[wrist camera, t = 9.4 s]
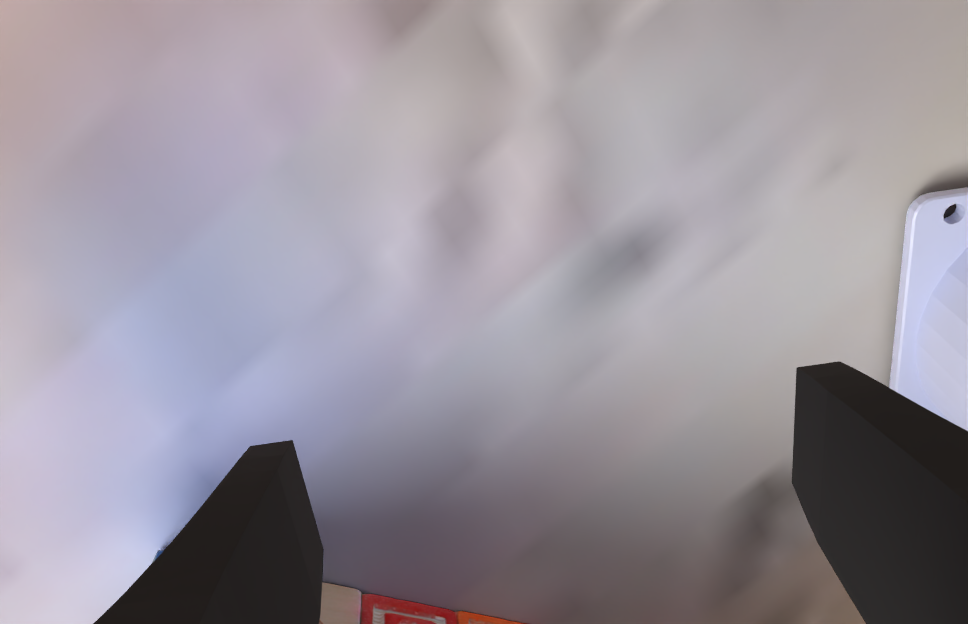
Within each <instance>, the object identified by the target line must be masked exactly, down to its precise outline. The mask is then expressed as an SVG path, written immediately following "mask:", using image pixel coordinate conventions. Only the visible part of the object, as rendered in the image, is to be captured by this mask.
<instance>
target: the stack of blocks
mask: <svg viewBox="0 0 968 624" xmlns="http://www.w3.org/2000/svg"><path fill="white" fill-rule="evenodd" d="M162 552H163V551H160V550H159V551H158V552H157V553H156V555H155V558H154V560H153V562H154V561H155V560H156V559H157V558H158V556H159V555H160V554H161V553H162ZM319 624H526V623H519V622H513V621H508V620H505V619H500V618H495V617H490V616H484V615H480V614H475V613H469V612H464V611H457V612H454V611H451V610H449V609H444V608H439V607H433V606H429V605H425V604H420V603H415V602H410V601H405V600H398V599H394V598H390V597H384V596H379V595H375V594H362V593H361V592H360V591H359V590H357V589H354V588H349V587H344V586H339V585H334V584H329V583H324V582H322V596H321V614H320V620H319Z"/></svg>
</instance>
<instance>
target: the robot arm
mask: <svg viewBox="0 0 968 624" xmlns="http://www.w3.org/2000/svg"><path fill="white" fill-rule="evenodd" d="M953 204H956V209H955V212H954V213H953V214H952V215H951V216H949V217H946V218H944V217H943V215H944V212H945V210H946V209H947V208H948V207H949V206H951V205H953ZM792 484H793V486H794V489H795V491H796V493H797V496H798V498H799V501H800V503H801V506H802V508H803V510H804V513H805V515H806V517H807V520H808V522H809V524H810V526H811V529H812V531H813V533H814V535H815V538H816V540H817V542H818V544H819V546H820V547H821V549H822V551H823V553H824V554H825V556H826V558H827V559H828V561H829V563H830V564H831V566H832V568H833V570H834V571H835V573H836V575H837V576H838V578H839V580H840V581H841V583H842V585H843V586H844V588H845V590H846V591H847V593H848V595H849V596H850V598H851V599H852V601H853V603H854V604H855V606H856V608H857V609H858V611H859V613H860V614H861V616H862V618H863V619H864V621H865V622H866V624H968V187H965V188H958V189H951V190H944V191H938V192H931V193H927V194H923V195H921V196H919V197H918V198H917V199H915V200H914V201H913V202H912V204H911V205H910V206H909V208H908V212H907V215H906V225H905V235H904V245H903V255H902V265H901V275H900V285H899V295H898V305H897V315H896V325H895V335H894V345H893V355H892V365H891V375H890V385H889V387H887V386H885V385H883V384H881V383H880V382H878V381H876V380H874V379H872V378H871V377H869V376H867V375H865V374H863V373H862V372H860V371H858V370H856V369H854V368H852V367H850V366H848V365H846V364H844V363H842V362H833V363H826V364H819V365H812V366H805V367H798V368H797V373H796V397H795V421H794V445H793V469H792ZM322 575H323V546H322V543H321V539H320V536H319V532H318V529H317V525H316V521H315V518H314V514H313V511H312V507H311V504H310V500H309V497H308V493H307V490H306V486H305V483H304V479H303V475H302V472H301V468H300V465H299V461H298V458H297V454H296V451H295V447H294V444H293V440H290V441H283V442H276V443H269V444H262V445H255V446H250V447H249V448H248V449H247V451H246V452H245V453H244V454H243V455H242V457H241V458H240V459H239V460H238V462H237V463H236V464H235V465H234V467H233V468H232V469H231V470H230V471H229V473H228V474H227V475H226V476H225V478H224V479H223V480H222V481H221V483H220V484H219V485H218V486H217V488H216V489H215V490H214V491H213V493H212V494H211V495H210V496H209V498H208V499H207V500H206V501H205V503H204V504H203V505H202V506H201V508H200V509H199V510H198V511H197V512H196V514H195V515H194V516H193V517H192V518H191V520H190V521H189V522H188V523H187V524H186V526H185V527H184V528H183V529H182V530H181V532H180V533H179V534H178V535H177V536H176V538H175V539H174V540H173V541H172V542H171V543H170V545H169V546H168V547H167V548H166V549H165V550H164V551H163V552H162V553H161V554H160V555H159V556H158V558H157V559H156V560H155V561H154V562H153V563H152V564H151V565H150V566H149V567H148V568H147V570H146V571H145V572H144V573H143V574H142V575H141V576H140V577H139V578H138V579H137V580H136V581H135V583H134V584H133V585H132V586H131V587H130V588H129V589H128V590H127V591H126V592H125V593H124V594H123V595H122V596H121V597H120V598H119V599H118V600H117V601H116V602H115V603H114V604H113V605H112V606H111V607H110V608H109V609H108V610H107V611H106V612H105V613H104V614H103V615H102V616H101V617H100V618H99V619H98V620H97V621H96V622H95V623H94V624H319V620H320V614H321V596H322Z"/></svg>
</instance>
